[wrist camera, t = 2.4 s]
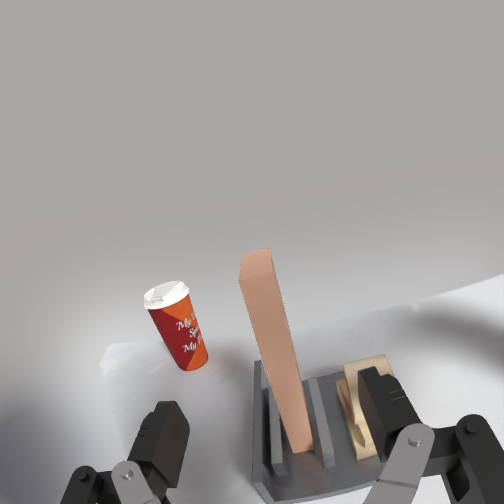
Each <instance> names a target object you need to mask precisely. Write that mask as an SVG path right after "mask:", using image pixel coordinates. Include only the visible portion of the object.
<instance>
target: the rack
mask: <svg viewBox="0 0 504 504" xmlns="http://www.w3.org/2000/svg"><path fill="white" fill-rule="evenodd" d="M343 378H345V375H344V371H341V372H338V373H334V374H330V375H326V376H323V377H319V378H316V377H314V378H310V379H308V380H306V381H302V387H303V391H304V396H305V400H306V405H307V409H308V414H309V420H310V425H311V431H312V437H313V443H314V448H315V449H314V450H309V451H304V452H299V453H293V451H292V448H291V445H290V442H289V439H288V436H287V433H286V430H285V427H284V424H283V421H282V418H281V415H280V412H279V409H278V406H277V403H276V400H275V397H274V394H273V391H272V387H270V386H269V383H268V380H267V377H266V374H265V371H264V368H263V365H262V361H261V360H259V361H255V368H254V418H253V464H252V484H253V485H254V487H255V488H256V490H257V491H258V492H259V494H260V495H261V497H262V498H263V499H264V501H265V502H266V503H267V504H293V503H299V502H306V501H311V500H317V499H322V498H326V497H331V496H335V495H340V494H344V493H348V492H351V491H355V490H359V489H362V488H365V487H369V486H372V485H374V483H375V482H376V480H378V479H379V477H380V475H381V473H382V471H383V469H384V467H385V465H386V463H387V462H384V463H380V460H379V457H378V454H376V455H373V456H370V457H366V458H363V459H360V460H357V459H356V456H355V452H354V449H353V445H352V442H351V438H350V435H349V431H348V428H347V425H346V421H345V418H344V414H343V411H342V408H341V405H340V401H339V398H338V395H337V392H336V387H335V380H339V379H343Z"/></svg>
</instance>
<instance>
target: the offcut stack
mask: <svg viewBox="0 0 504 504" xmlns="http://www.w3.org/2000/svg"><path fill="white" fill-rule="evenodd" d="M372 366H375V367H376V368H377V370H378V372H379V374H380V376H382V375H385V374H388V373H389V374H390V375H392V376H393V377H394V374H393V372H392V370H391V367H390V365H389V363H388V361H387V358H386V356H385V354H383V355H379V356H375V357H371V358H367V359H363V360H359V361H355V362H351V363H346V364H343V367H344V375H345V378H343V379H339V380H335V387H336V392H337V395H338V398H339V401H340V405H341V408H342V411H343V414H344V418H345V421H346V425H347V428H348V431H349V435H350V438H351V442H352V445H353V449H354V452H355V456H356V459H357V460H360V459H363V458H366V457H370V456H373V455H376V454H377V451H376V448H375V445H374V442H373V440H372V437H371V434H370V431H369V429H368V426H367V423H366V420H365V418H364V415H363V412H362V410H361V407H360V403H359V399H358V375H357V373H358V370H362V369H365V368H369V367H372Z"/></svg>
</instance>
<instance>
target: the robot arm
mask: <svg viewBox="0 0 504 504" xmlns="http://www.w3.org/2000/svg"><path fill="white" fill-rule="evenodd" d="M357 375H358V399H359V403H360V407H361V410H362V412H363V415H364V418H365V420H366V423H367V426H368V429H369V431H370V434H371V437H372V440H373V442H374V445H375V448H376V451H377V454H378V457H379V460H380V463H384V462H387V463H386V465H385V467H384V469H383V471H382V473H381V475H380V477H379V479H378V480H376V482H375V483H374V485H373V487H372V488H371V490H370V492H369V494H368V496H367V497H366V499H365V501H364V502H363V504H411V503H412V501H413V498H414V496H415V494H416V491H417V489H418V485H419V482H420V479H421V477H427V476H433V475H440V474H441V476H442V479H443V482H444V485H445V487H446V490H447V493H448V496H449V499H450V502H451V504H504V450H503V449H502V447H501V445H500V443H499V441H498V440H497V438H496V436H495V434H494V433H493V431H492V429H491V428H490V426H489V424H488V423H487V421H486V420H485V418H483V417H482V416H480V415H477V414H470V415H467V416H464V417H463V418H461V419H460V420H459V421H458V423H457V425H456V426H451V427H445V428H438V429H437V428H431V427H429V426H428V425H425V424H423V423H422V422H421V421H420V419H419V417H418V415H417V413H416V412H415V410H414V408H413V406H412V404H411V403H410V401H409V399H408V397H407V396H406V394H405V392H404V390H402V387H401V385H400V383H399V382H398V380H397V379H396V378H395V377H393V376H392V375H390V374H389V373H388V374H385V375H382V376H380V374H379V372H378V370H377V368H376V367H375V366H372V367H369V368H365V369H362V370H358V373H357ZM189 433H190V428H189V424H188V421H187V419H186V418H185V416H184V414H183V413H182V411H181V409H180V407H179V406H178V404H177V403H176V402H175V401H160V402H158V403H157V405H156V408H155V410H154V412H150V413H149V414H148V415H147V416H146V417H145V419H144V420H143V422H142V424H141V427H140V430H139V432H138V434H137V435H138V436H137V437H136V439H135V442H134V444H133V447H132V449H131V452H130V454H129V457H128V459H127V461H123V462H120V463H119V464H117V465H116V466H115V467H114V468H113V470H112V471H106V472H96V471H95V470H94V469H93V468H92V467H90V466H81V467H79V468H77V469H76V470H75V471H74V473H73V474H72V477H71V479H70V481H69V484H68V486H67V489H66V491H65V493H64V496H63V498H62V501H61V503H60V504H96V503H97V504H173V502H172V501H171V499H170V498H169V496H168V495H167V493H166V491H167V488H177V484H178V480H179V475H180V471H181V467H182V463H183V458H184V454H185V450H186V446H187V441H188V437H189Z"/></svg>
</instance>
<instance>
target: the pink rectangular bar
mask: <svg viewBox="0 0 504 504" xmlns="http://www.w3.org/2000/svg"><path fill="white" fill-rule="evenodd" d="M239 284H240V287H241V290H242V293H243V297H244V300H245V304H246V307H247V310H248V313H249V317H250V320H251V323H252V327H253V330H254V333H255V337H256V340H257V343H258V346H259V349H260V353H261V356H262V359H263V362H264V365H265V369H266V372H267V375H268V378H269V381H270V384H271V387H272V391H273V394H274V397H275V400H276V403H277V406H278V409H279V412H280V415H281V418H282V421H283V424H284V427H285V430H286V433H287V436H288V439H289V442H290V445H291V448H292V451H293V453H299V452H304V451H309V450H314V449H315V448H314V443H313V437H312V431H311V425H310V420H309V414H308V409H307V405H306V400H305V396H304V391H303V387H302V382H301V378H300V374H299V369H298V365H297V360H296V356H295V352H294V348H293V343H292V339H291V335H290V330H289V326H288V322H287V318H286V314H285V310H284V305H283V301H282V297H281V293H280V289H279V285H278V281H277V277H276V273H275V269H274V265H273V261H272V256H271V252H270V249H269V248H268V249H264V250H260V251H256V252H252V253H247V254H243V256H242V262H241V268H240V275H239Z"/></svg>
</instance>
